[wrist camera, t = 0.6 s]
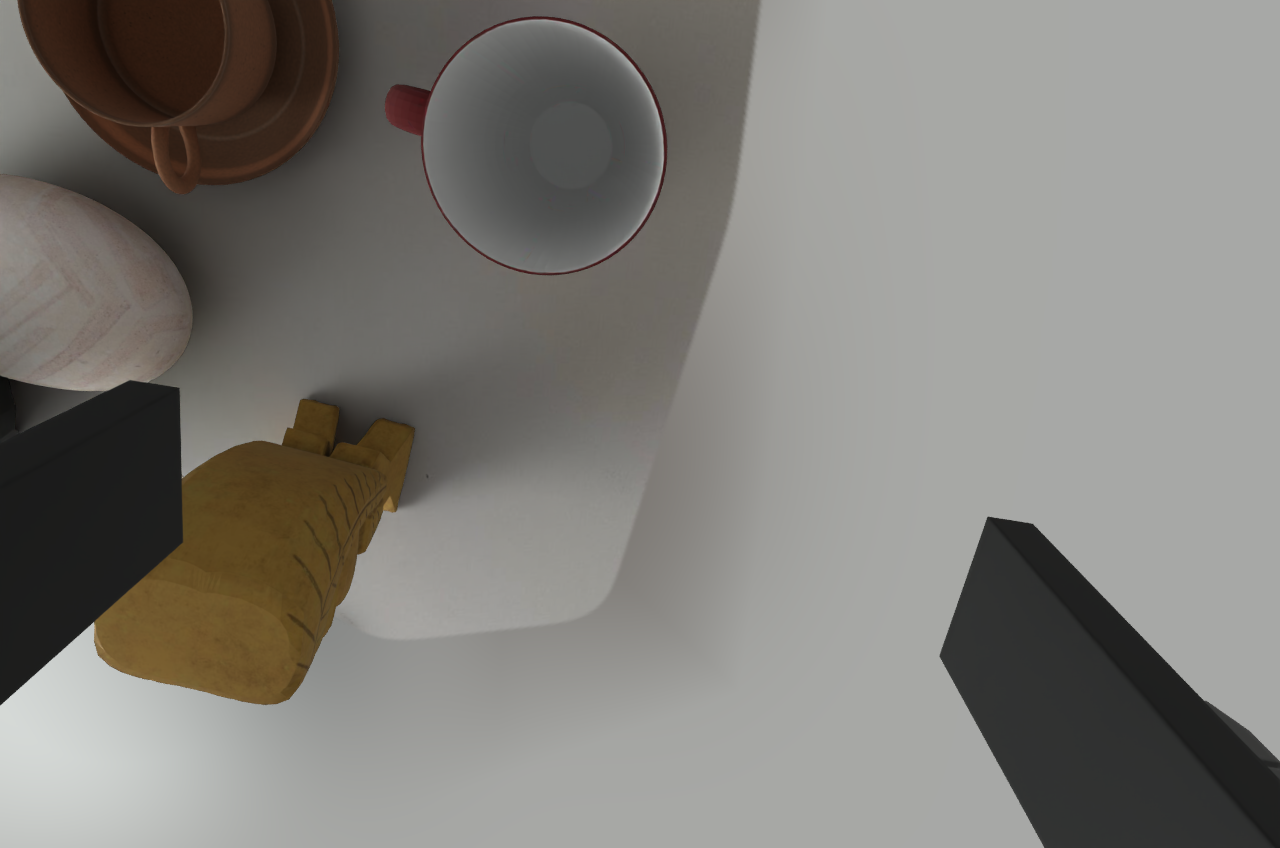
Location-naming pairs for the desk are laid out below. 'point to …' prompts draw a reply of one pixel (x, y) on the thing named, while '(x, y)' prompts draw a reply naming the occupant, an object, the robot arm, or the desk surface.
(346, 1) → the desk surface
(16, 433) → the portable speaker
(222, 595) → the figurine
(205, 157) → the cup and saucer
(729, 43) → the desk surface
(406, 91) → the mug
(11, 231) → the decorative stone
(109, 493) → the robot arm
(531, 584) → the desk surface
